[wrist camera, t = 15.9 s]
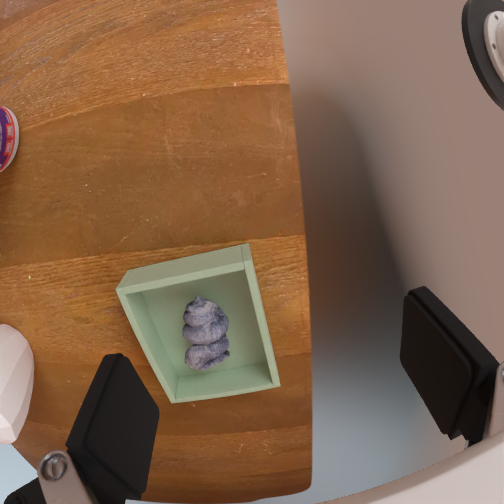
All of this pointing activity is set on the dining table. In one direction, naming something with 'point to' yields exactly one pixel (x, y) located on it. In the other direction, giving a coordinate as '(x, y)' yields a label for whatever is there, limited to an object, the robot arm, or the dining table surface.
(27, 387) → the vase
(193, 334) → the seashell
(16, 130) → the pill bottle
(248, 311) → the box
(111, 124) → the dining table surface
